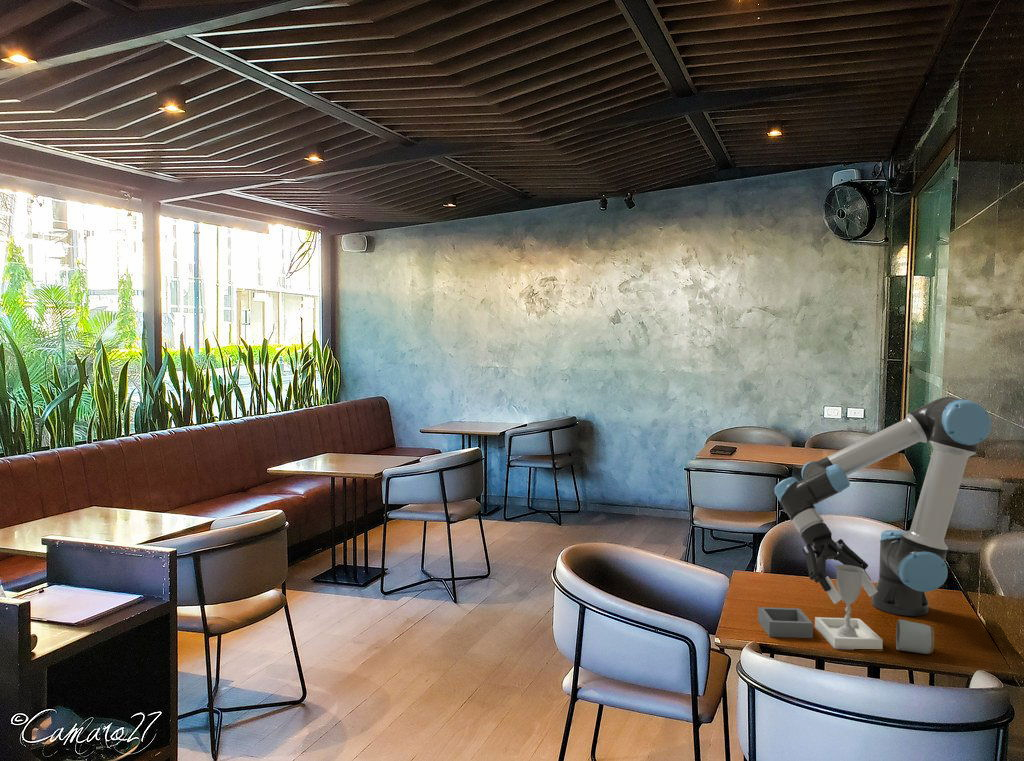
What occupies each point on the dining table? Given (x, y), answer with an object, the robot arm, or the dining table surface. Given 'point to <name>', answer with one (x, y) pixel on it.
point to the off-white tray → (863, 641)
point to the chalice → (848, 593)
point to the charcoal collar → (785, 622)
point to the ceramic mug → (914, 637)
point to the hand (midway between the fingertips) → (856, 598)
